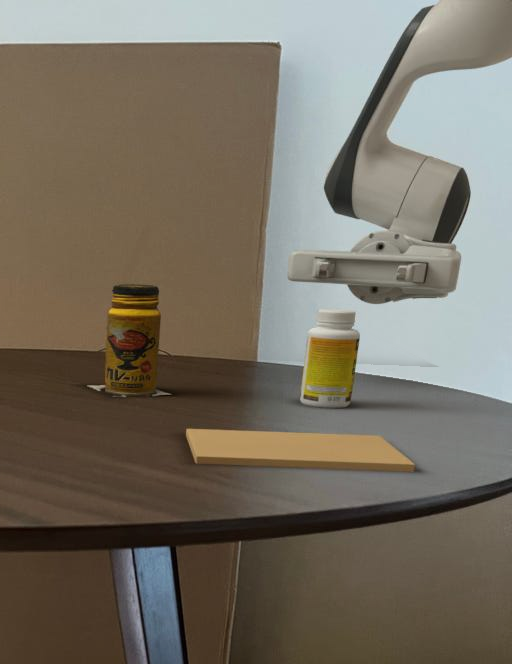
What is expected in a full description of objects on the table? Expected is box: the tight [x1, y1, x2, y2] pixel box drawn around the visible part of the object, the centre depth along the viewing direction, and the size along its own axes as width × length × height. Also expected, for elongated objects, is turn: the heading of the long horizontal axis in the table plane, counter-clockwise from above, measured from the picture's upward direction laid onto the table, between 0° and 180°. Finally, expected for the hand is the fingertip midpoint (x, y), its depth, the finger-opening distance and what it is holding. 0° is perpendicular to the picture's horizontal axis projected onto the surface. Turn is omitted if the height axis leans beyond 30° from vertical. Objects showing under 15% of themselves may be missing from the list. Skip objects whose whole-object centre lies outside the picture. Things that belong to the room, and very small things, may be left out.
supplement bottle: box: [299, 308, 361, 409], centre depth 114 cm, size 6×6×10 cm
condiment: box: [88, 283, 172, 398], centre depth 119 cm, size 7×8×12 cm
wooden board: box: [185, 428, 416, 473], centre depth 91 cm, size 18×12×1 cm, turn 86°
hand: (361, 271), depth 120 cm, fingers open, 8 cm apart
